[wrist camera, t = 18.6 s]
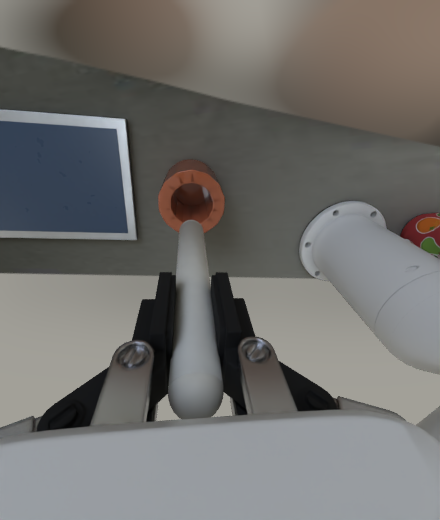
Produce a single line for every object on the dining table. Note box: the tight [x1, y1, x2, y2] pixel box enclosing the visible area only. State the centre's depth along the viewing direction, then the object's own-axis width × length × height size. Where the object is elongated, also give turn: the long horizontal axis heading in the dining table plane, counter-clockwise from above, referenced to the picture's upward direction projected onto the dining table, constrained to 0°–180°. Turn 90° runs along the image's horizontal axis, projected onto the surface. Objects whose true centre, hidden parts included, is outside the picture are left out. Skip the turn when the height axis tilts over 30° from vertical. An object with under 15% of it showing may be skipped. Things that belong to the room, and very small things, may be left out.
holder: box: [158, 159, 225, 233], centre depth 29 cm, size 7×7×7 cm
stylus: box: [168, 220, 223, 419], centre depth 14 cm, size 2×2×14 cm
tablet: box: [0, 109, 138, 240], centre depth 29 cm, size 20×14×1 cm
